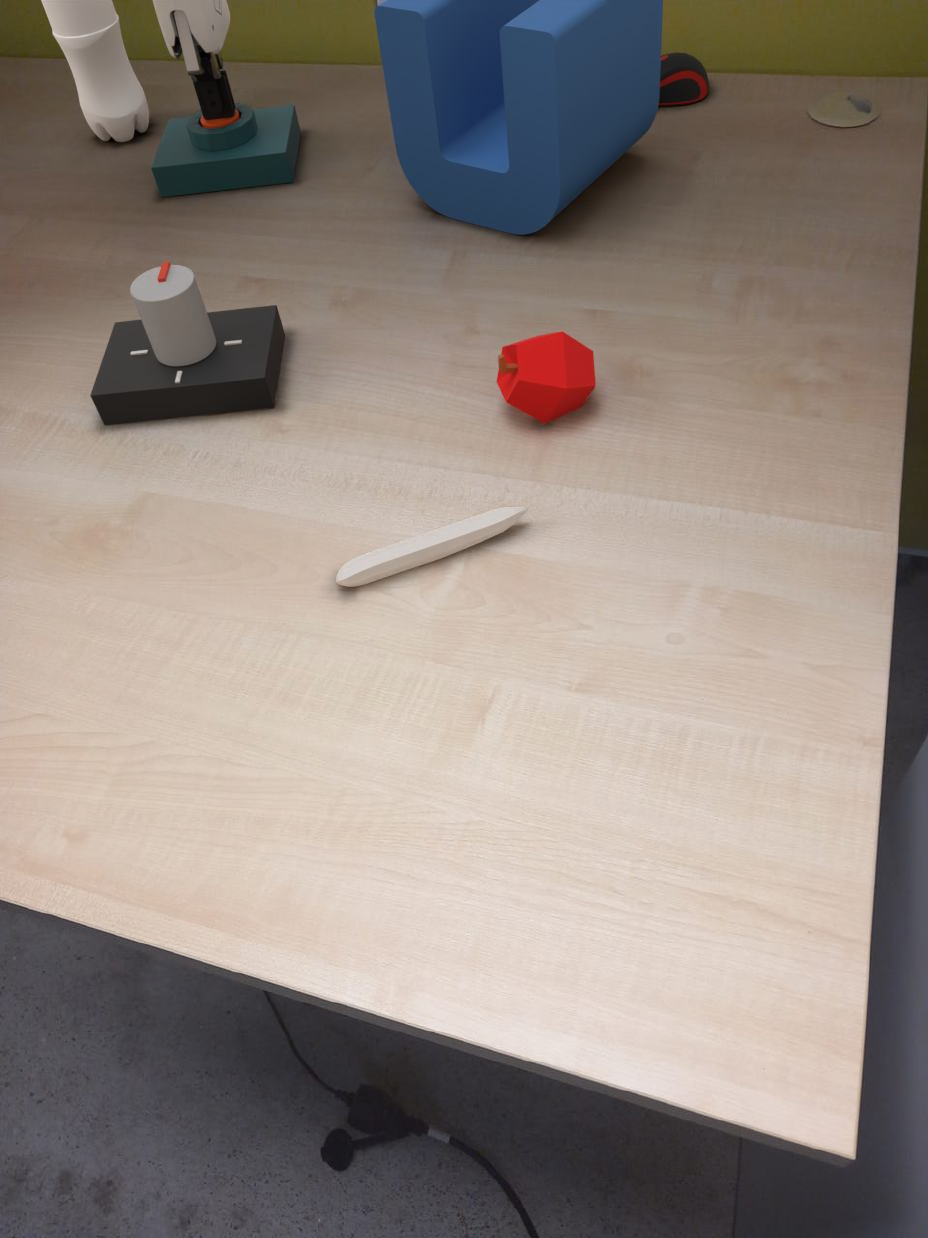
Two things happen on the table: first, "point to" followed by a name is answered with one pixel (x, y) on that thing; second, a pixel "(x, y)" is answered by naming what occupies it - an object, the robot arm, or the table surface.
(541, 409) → the apple
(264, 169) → the teal button box
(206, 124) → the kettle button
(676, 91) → the computer mouse
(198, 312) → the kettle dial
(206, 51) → the robot arm
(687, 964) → the table surface
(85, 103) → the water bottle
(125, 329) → the dial panel
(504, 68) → the block
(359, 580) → the pen
